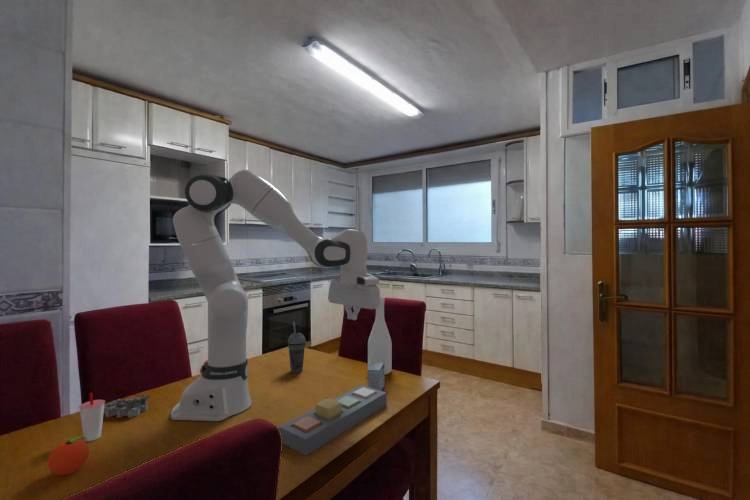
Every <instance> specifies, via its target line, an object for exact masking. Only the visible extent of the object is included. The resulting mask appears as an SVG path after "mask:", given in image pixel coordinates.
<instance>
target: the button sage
mask: <svg viewBox="0 0 750 500" xmlns="http://www.w3.org/2000/svg"><path fill="white" fill-rule="evenodd" d="M337 401H338V402H341V407H343V408H346V409H350V408H352V407H354V406H356V405H357V404H359V400H358V399H355V398H352V397H349V396H345V397H343V398H341V399H339V400H337Z"/></svg>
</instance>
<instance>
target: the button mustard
mask: <svg viewBox="0 0 750 500" xmlns="http://www.w3.org/2000/svg"><path fill="white" fill-rule="evenodd" d="M333 399H334V398H333ZM333 399H332V398H330V397H327V398H326V399H323V400H322V401H319V402H317V403H315V408H316V415H317V416H319V417H321V418H324V419H326V420H331V419H332V418H334V417H336V416H338V415H340V414H341V402H338V401H336V400H333Z"/></svg>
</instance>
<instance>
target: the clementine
mask: <svg viewBox="0 0 750 500" xmlns="http://www.w3.org/2000/svg"><path fill="white" fill-rule="evenodd" d="M81 438H82V436H75V437H73V438H72V437H71V438H70V439H67V440H64V441H63V442H61V443H59V444H58V445H57V446H55V448H54V449H53V450H52V451H51V453H50V454H49V457H48V459H47V466H48V469H49V470H50V472H51V473H53V474H55V475H57V476H58V475H59V476H66V475H71V474H72V473H74V472H77V471H78V470H79V469H80V468H82V466H84V464H85V463H86V462H87V460H88V458H89V455H90V447H89V445H88V444H87V442H89V441H88V440H87V438H86V437H84V436H83V439H84V438H85V439H86V440H87V441H84V440H83V439H81Z"/></svg>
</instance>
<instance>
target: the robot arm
mask: <svg viewBox="0 0 750 500" xmlns="http://www.w3.org/2000/svg"><path fill="white" fill-rule="evenodd" d="M184 195H185V196H184V197H185V199H186V201H187V202H188V205H187V206H185V207H182V208H180V209H179V210H177V211H176V212H175V213H174V215H173V216H172V223H173V227H174V231H175V235H176V238H177V240H178V244H179V245H180V248H181V249H182V252H183V255H184V257H185V260H187V263H188V265H189V267H190V269H191V271H192V274H193V275H194V277H195V280H196V281H197V282H198V285H199V287H200V289H201V290H202V293H203V295H204V297H205V298H206V301H207V359H206V360H205V361H204V362H203V364H202V365H201V367H200V368H199V374H201V375H200V376H199V377H198V378H196V379H195V380H194V381H192V382H191V383H190V384H189V385H188V386H187V387H186V388H184V390H183V392H182V394H181V395H180V396H181V397H180V398H179V399H180V401H179V402H178V403H177V404H176V405H175V406H174V407H173V408H172V410H171V412H170V418H171V420H173V421H174V420H176V421H179V420H180V421H209V422H220V421H223V420H225V419H228V418H229V417H231V416H234V415H238V414H240V413H243V412H244V411H247V410H248V409H249V408H250V406H252V403H253V402H252V398H251V395H250V391H249V384H248V376H249V363H248V358H247V332H248V331H247V329H248V317H249V316H248V315H249V314H248V312H249V297H248V295H247V292H246V291H245V289H244V288H243V286H242V284H241V282H240V279H239V278H238V276H237V272H236V270H235V268H234V266H233V263H232V261H231V259H230V256H229V254H228V252H227V249H226V247H225V245H224V243H223V242H224V241H223V240H222V238H221V236H220V233H219V231H218V229H217V227H216V225H215V218H216V217H218V216H219V215H221V214H222V213H223V212H225V211H226V210H227V209H228V208H229V207H230V206H231V205H233V204H235V205H238V206H240V207H241V208H243V209H244V210H245V211H247V212H248V213H249V214H250V215H252V216H253V217H254V218H256V219H257V220H259V221H260V222H262V223H263V224H265V225H267V226H270V227H271V228H274V229H276V230H277V231H280V232H282V233H284V234H285V235H287V236H288V237H289V238H291V239H292V240H293V241H295V243H297V244H298V245H299V246H300V247H302V248H303V249H304V250H305V251H306V252H307V255H308V256H309V258H310V260H311V261H312V263H313V265H315V266H318V267H320V268H327V269H332V268H334V267H339V268H340V276H337V275H335V276H333V277H331V279H330V284H329V288H328V296H327V300H328V302H329V303H332V304H335V305H336V304H337V305H343V306H344V309H345V312H346V314H347V317H346V319H348V320H352V321H356V320H357V319H358V314H359V313H360V310H361V309H362V308H363V309H366V310H376V309H377V308H378V307H379V305H380V297H381V291H380V290H381V289H380V288H379V284H380V279H379V278H378V277H377V276H374V275H372V273H371V274H370V273H368V267H367V259H368V239H367V238H368V237H367V235H366V234H365V233H364V232H363V231H362V230H357V229H352V228H346V229H343V230H342V231H341V232H339V233H337V234H334V235H332V236H329V237H326V238H324V237H321V236H320V235H317V234H316V233H315V232H314V231H312V230H311V229H310V228H309V227H308V226H306V225H305V224H304V223H303V222H302V221H300V219H299V218H298V216H297V215H296V214H295V212H294V210H293V207H292V204H291V202H290V201H289V200H288V198H286V197H285V195H284V194H283V193H282V192H281V191H280V190H279V189H278V188H277V187H275V186H274V185H272V184H271V183H270V182H269V181H268V180H266V179H264V178H263V177H262V176H260V175H258V174H257V173H254V172H252V171H251V170H248V169H242V170H239V171H237V172H236V173H234V174H233V175H232V176H231V177H230V178H229V179H228V178H226V177H224V176H219V175H215V174H208V173H202V174H198V175H195V176H193V177H191V178H190V179H189V180H188V181H187V182H186V185H185V188H184ZM352 309H353V311H352Z"/></svg>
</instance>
